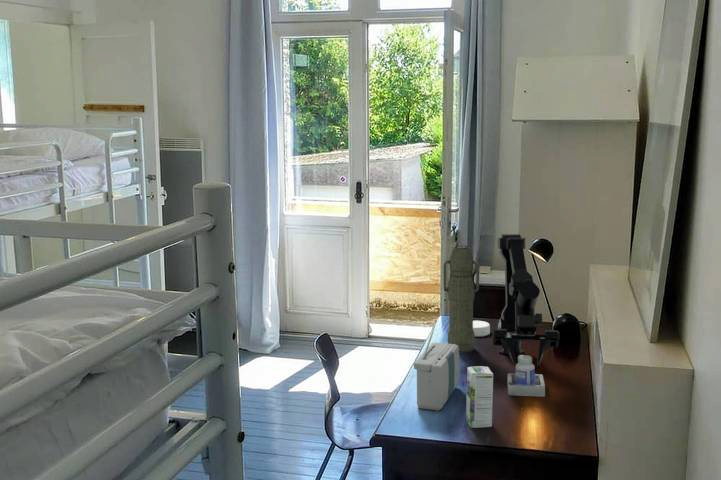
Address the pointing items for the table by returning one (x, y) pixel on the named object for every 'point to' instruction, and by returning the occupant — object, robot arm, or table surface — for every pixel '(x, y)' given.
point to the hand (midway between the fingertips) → (526, 364)
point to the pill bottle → (525, 370)
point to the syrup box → (479, 397)
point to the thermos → (461, 297)
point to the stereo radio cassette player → (437, 374)
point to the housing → (526, 386)
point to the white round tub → (481, 328)
